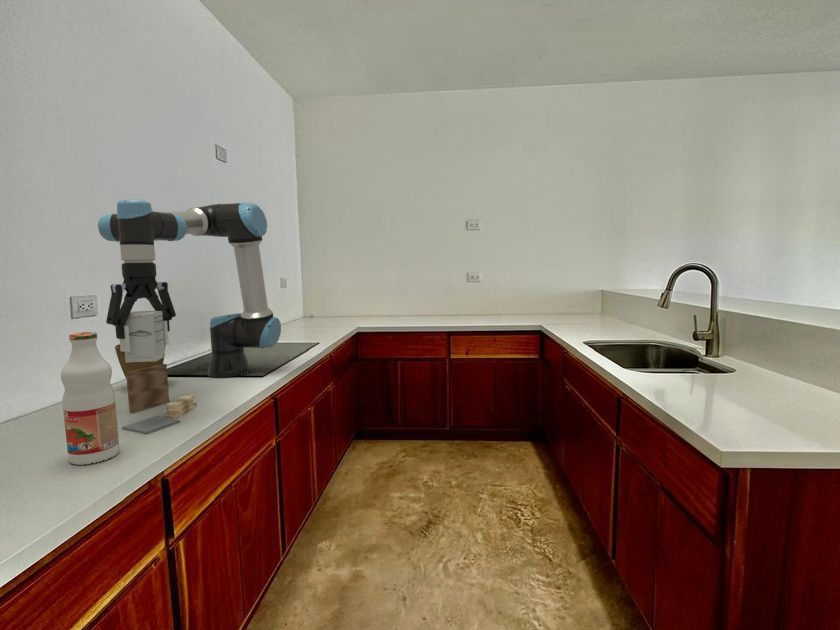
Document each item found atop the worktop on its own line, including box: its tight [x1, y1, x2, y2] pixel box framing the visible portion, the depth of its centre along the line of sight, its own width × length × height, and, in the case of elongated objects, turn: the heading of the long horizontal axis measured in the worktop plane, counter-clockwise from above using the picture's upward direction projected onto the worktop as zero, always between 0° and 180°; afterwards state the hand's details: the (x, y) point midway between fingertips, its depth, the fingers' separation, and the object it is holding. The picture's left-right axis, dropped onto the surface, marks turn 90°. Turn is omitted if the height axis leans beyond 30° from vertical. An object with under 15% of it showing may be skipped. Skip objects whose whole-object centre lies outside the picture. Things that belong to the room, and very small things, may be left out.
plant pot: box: [114, 343, 166, 380], centre depth 158 cm, size 15×15×16 cm
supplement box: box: [124, 310, 166, 363], centre depth 120 cm, size 7×7×13 cm
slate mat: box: [121, 415, 181, 435], centre depth 122 cm, size 10×10×1 cm
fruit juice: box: [60, 331, 120, 466], centre depth 101 cm, size 9×9×28 cm
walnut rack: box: [125, 363, 170, 414], centre depth 138 cm, size 12×1×12 cm, turn 156°
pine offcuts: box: [163, 394, 198, 419], centre depth 133 cm, size 11×4×4 cm, turn 2°
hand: (145, 347), depth 120 cm, fingers closed on supplement box, 10 cm apart
